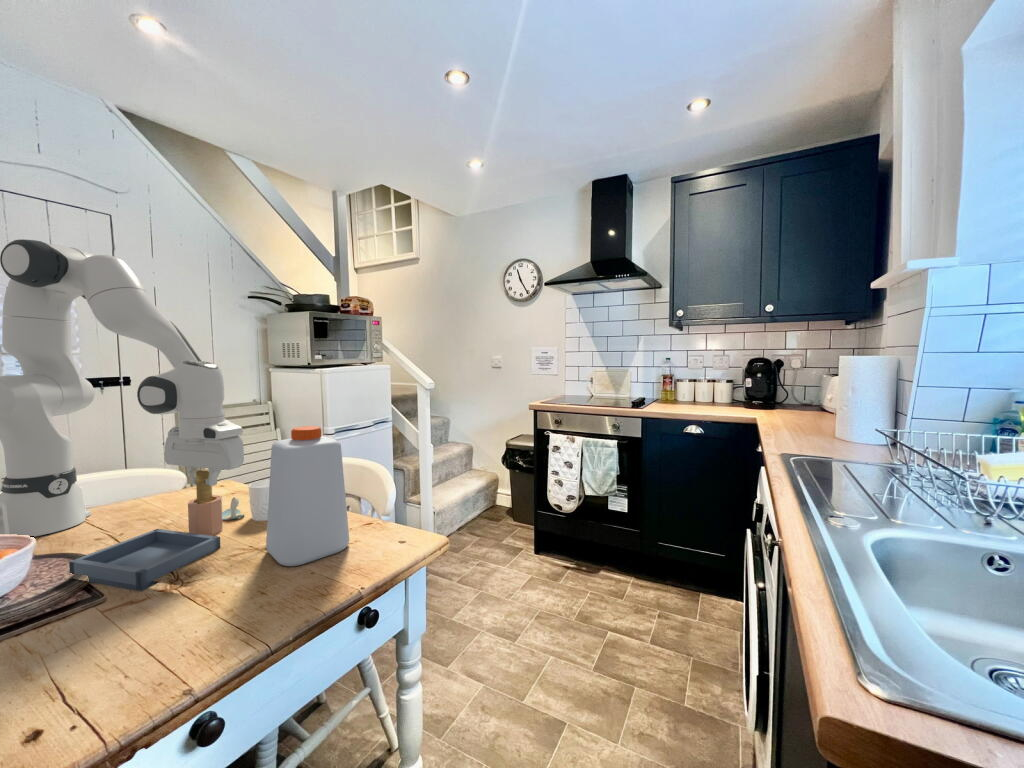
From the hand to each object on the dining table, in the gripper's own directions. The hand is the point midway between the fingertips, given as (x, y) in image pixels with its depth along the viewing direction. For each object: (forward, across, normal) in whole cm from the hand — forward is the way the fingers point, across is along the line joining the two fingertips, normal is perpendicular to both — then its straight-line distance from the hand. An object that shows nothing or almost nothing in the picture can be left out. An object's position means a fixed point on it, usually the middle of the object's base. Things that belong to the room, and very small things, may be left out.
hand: (204, 484), depth 98 cm
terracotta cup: (+13, 0, 0) cm, 13 cm away
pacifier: (+13, -3, +9) cm, 16 cm away
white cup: (+13, +6, +12) cm, 19 cm away
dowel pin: (+11, 0, 0) cm, 11 cm away
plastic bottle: (+13, +29, 0) cm, 32 cm away
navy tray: (+13, +2, -14) cm, 19 cm away
